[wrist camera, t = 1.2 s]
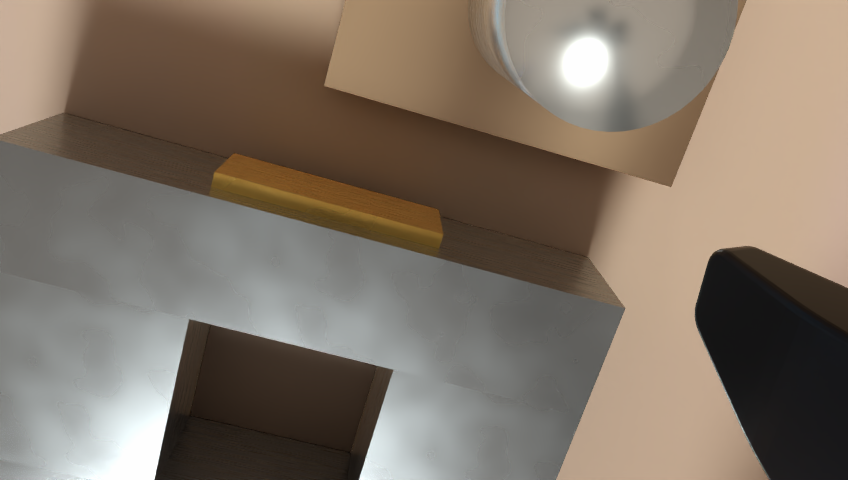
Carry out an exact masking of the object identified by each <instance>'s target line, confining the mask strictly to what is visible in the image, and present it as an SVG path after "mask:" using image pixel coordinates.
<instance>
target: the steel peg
mask: <svg viewBox="0 0 848 480" xmlns="http://www.w3.org/2000/svg"><path fill="white" fill-rule="evenodd" d="M737 9H738V0H469V2H468V20H469V26H470V31H471V34H472V38H473V40H474V43H475V45H476V47H477V49H478V51H479V52H480V54H481V56H482V57H483V58H484V60H485V61H486V62H487V63H488V64H489V65H490V66H491V67H492V68H493V69H494V70H495V71H496V72H497V73H499V74H500V75H501V76H503V77H504V78H505V79H507V80H508V81H509V82H511V83H512V84H513V85H515V86H516V87H517V88H519V89H520V90H521V91H523V92H524V93H525V94H527V95H528V96H529V97H531V98H532V99H533V100H535V101H536V102H537V103H539V104H540V105H541V106H543V107H544V108H545V109H547V110H548V111H549V112H551V113H552V114H554V115H555V116H557V117H558V118H560V119H562V120H564V121H566V122H568V123H570V124H573V125H576V126H578V127H581V128H585V129H590V130H594V131H604V132H619V131H629V130H634V129H639V128H643V127H646V126H649V125H652V124H655V123H657V122H659V121H661V120H663V119H666V118H668V117H669V116H671V115H673V114H674V113H676V112H677V111H679V110H681V109H682V108H683V107H684V106H686V105H687V104H688V103H689V102H691V101H692V100H693V99H694V98H695V97H696V96H697V95H698V94H699V93H700V92H701V91H702V90H703V89H704V88H705V87H706V85H707V84H708V83H709V82H710V80H711V79H712V78H713V76H714V75H715V73H716V72H717V70H718V68H719V67H720V65H721V63H722V61H723V59H724V57H725V55H726V53H727V51H728V49H729V46H730V43H731V40H732V37H733V34H734V29H735V24H736V19H737Z"/></svg>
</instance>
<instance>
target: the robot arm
mask: <svg viewBox="0 0 848 480" xmlns="http://www.w3.org/2000/svg"><path fill="white" fill-rule="evenodd" d="M695 321H696V325H697V328H698V331H699V334H700V336H701V338H702V340H703V343H704V345H705V347H706V349H707V352H708V354H709V356H710V358H711V361H712V363H713V365H714V367H715V370H716V372H717V374H718V376H719V378H720V381H721V383H722V385H723V387H724V390H725V392H726V394H727V396H728V399H729V401H730V403H731V405H732V408H733V410H734V412H735V414H736V417H737V419H738V421H739V423H740V426H741V428H742V430H743V432H744V434H745V436H746V438H747V440H748V442H749V444H750V446H751V448H752V450H753V452H754V454H755V455H756V457H757V459H758V461H759V463H760V465H761V467H762V468H763V470H764V472H765V473H766V475H767V477H768V479H769V480H848V288H846V287H844V286H842V285H840V284H837V283H835V282H833V281H830V280H828V279H826V278H824V277H821V276H819V275H817V274H815V273H812V272H810V271H808V270H806V269H803V268H801V267H799V266H796V265H794V264H792V263H790V262H787V261H785V260H783V259H781V258H778V257H776V256H774V255H772V254H769V253H767V252H765V251H762V250H760V249H758V248H755V247H751V246H743V247H734V248H725V249H720V250H717V251H715V252H714V253H713V254H712V256H711V257H710V259H709V261H708V264H707V268H706V271H705V275H704V278H703V282H702V285H701V289H700V292H699V296H698V299H697V303H696V307H695Z"/></svg>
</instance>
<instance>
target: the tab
mask: <svg viewBox="0 0 848 480" xmlns="http://www.w3.org/2000/svg"><path fill="white" fill-rule="evenodd" d="M468 2H469V0H345V4H344V8H343V12H342V16H341V20H340V24H339V28H338V32H337V36H336V40H335V44H334V48H333V52H332V56H331V60H330V64H329V68H328V72H327V76H326V80H325V84H324V86H326V87H330V88H333V89H337V90H340V91H343V92H347V93H350V94H354V95H357V96H361V97H364V98H367V99H371V100H374V101H378V102H381V103H385V104H388V105H391V106H395V107H398V108H402V109H405V110H409V111H412V112H416V113H419V114H422V115H426V116H429V117H433V118H436V119H440V120H443V121H446V122H450V123H453V124H457V125H460V126H464V127H467V128H470V129H474V130H477V131H481V132H484V133H488V134H491V135H494V136H498V137H501V138H505V139H508V140H512V141H515V142H518V143H522V144H525V145H529V146H532V147H536V148H539V149H543V150H546V151H549V152H553V153H556V154H560V155H563V156H567V157H570V158H573V159H577V160H580V161H584V162H587V163H591V164H594V165H597V166H601V167H604V168H608V169H611V170H615V171H618V172H621V173H625V174H628V175H632V176H635V177H639V178H642V179H645V180H649V181H652V182H656V183H659V184H663V185H666V186H669V187H671V186H672V184H673V181H674V179H675V176H676V174H677V171H678V169H679V166H680V164H681V161H682V159H683V156H684V154H685V151H686V149H687V146H688V144H689V141H690V139H691V137H692V134H693V132H694V129H695V127H696V124H697V122H698V119H699V117H700V114H701V112H702V109H703V107H704V104H705V102H706V99H707V97H708V94H709V92H710V89H711V87H712V84H713V82H714V80H715V77H716V75H717V72H718V70H719V68H718V70H717V72H716V73H715V75H714V76H713V78H712V79H711V80H710V82H709V83H708V84H707V85H706V87H705V88H704V89H703V90H702V91H701V92H700V93H699V94H698V95H697V96H696V97H695V98H694V99H693V100H692V101H691V102H689V103H688V104H687V105H686V106H684V107H683V108H682V109H681V110H679V111H677V112H676V113H674V114H673V115H671V116H669V117H668V118H666V119H663V120H661V121H659V122H657V123H655V124H652V125H649V126H646V127H643V128H639V129H634V130H629V131H619V132H604V131H594V130H590V129H585V128H581V127H578V126H576V125H573V124H570V123H568V122H566V121H564V120H562V119H560V118H558V117H557V116H555V115H554V114H552V113H551V112H549V111H548V110H547V109H545V108H544V107H543V106H541V105H540V104H539V103H537V102H536V101H535V100H533V99H532V98H531V97H529V96H528V95H527V94H525V93H524V92H523V91H521V90H520V89H519V88H517V87H516V86H515V85H513V84H512V83H511V82H509V81H508V80H507V79H505V78H504V77H503V76H501V75H500V74H499V73H497V72H496V71H495V70H494V69H493V68H492V67H491V66H490V65H489V64H488V63H487V62H486V61H485V60H484V58H483V57H482V56H481V54H480V52H479V51H478V49H477V47H476V45H475V43H474V40H473V38H472V34H471V31H470V26H469V20H468ZM745 3H746V0H738V9H737V19H736V24H735V28H736V25H737V23H738V20H739V18H740V15H741V13H742V10H743V8H744V5H745ZM734 30H735V29H734Z"/></svg>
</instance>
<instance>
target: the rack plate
mask: <svg viewBox="0 0 848 480" xmlns="http://www.w3.org/2000/svg"><path fill="white" fill-rule="evenodd" d="M624 310H625V307H624V306H623V304H622V303H621V302H620V300H619V299H618V298H617V296H616V295H615V293H614V292H613V291H612V289H611V288H610V287H609V285H608V284H607V283H606V281H605V280H604V278H603V277H602V276H601V274H600V273H599V272H598V270H597V269H596V268H595V266H594V265H593V263H592V262H591V261H590V259H589V258H588V257H585V256H581V255H578V254H574V253H570V252H567V251H563V250H560V249H556V248H552V247H549V246H545V245H541V244H538V243H534V242H531V241H527V240H523V239H520V238H516V237H512V236H509V235H505V234H501V233H498V232H494V231H491V230H487V229H483V228H480V227H476V226H472V225H469V224H465V223H462V222H458V221H454V220H451V219H447V218H443V217H440V214H439V210H438V209H435V208H431V207H427V206H424V205H420V204H417V203H413V202H409V201H406V200H402V199H398V198H395V197H391V196H388V195H384V194H380V193H377V192H373V191H370V190H366V189H362V188H359V187H355V186H351V185H348V184H344V183H341V182H337V181H333V180H330V179H326V178H323V177H319V176H315V175H312V174H308V173H304V172H301V171H297V170H294V169H290V168H286V167H283V166H279V165H275V164H272V163H268V162H265V161H261V160H257V159H254V158H250V157H247V156H243V155H239V154H236V153H234V154H233V155H232V156H231V157H230V158H226V157H222V156H218V155H215V154H211V153H207V152H204V151H200V150H196V149H193V148H189V147H186V146H182V145H178V144H175V143H171V142H167V141H164V140H160V139H157V138H153V137H149V136H146V135H142V134H138V133H135V132H131V131H127V130H124V129H120V128H117V127H113V126H109V125H106V124H102V123H98V122H95V121H91V120H88V119H84V118H80V117H77V116H73V115H69V114H66V113H61V114H58V115H55V116H53V117H50V118H47V119H44V120H41V121H38V122H35V123H32V124H29V125H26V126H24V127H21V128H18V129H15V130H12V131H9V132H6V133H3V134H0V480H556V478H557V476H558V473H559V471H560V468H561V466H562V464H563V461H564V459H565V456H566V454H567V451H568V449H569V446H570V444H571V441H572V439H573V436H574V434H575V431H576V429H577V427H578V424H579V422H580V419H581V417H582V414H583V412H584V409H585V407H586V404H587V402H588V399H589V397H590V394H591V392H592V389H593V387H594V385H595V382H596V380H597V377H598V375H599V372H600V370H601V367H602V365H603V362H604V360H605V357H606V355H607V352H608V350H609V348H610V345H611V343H612V340H613V338H614V335H615V333H616V330H617V328H618V325H619V323H620V320H621V318H622V315H623V313H624ZM210 324H211V325H215V326H219V327H223V328H227V329H231V330H235V331H239V332H244V333H248V334H252V335H256V336H260V337H264V338H268V339H272V340H276V341H280V342H284V343H288V344H292V345H296V346H300V347H304V348H308V349H312V350H316V351H320V352H324V353H328V354H332V355H336V356H340V357H344V358H348V359H352V360H356V361H360V362H364V363H368V364H372V365H376V366H377V367H376V370H375V374H374V377H373V380H372V384H371V387H370V390H369V393H368V397H367V400H366V403H365V406H364V410H363V413H362V416H361V419H360V423H359V426H358V429H357V433H356V436H355V439H354V442H353V446H352V449H351V452H350V453H348V452H344V451H340V450H335V449H331V448H327V447H323V446H318V445H314V444H310V443H305V442H301V441H297V440H293V439H288V438H284V437H280V436H275V435H271V434H267V433H262V432H258V431H254V430H250V429H245V428H241V427H237V426H232V425H228V424H224V423H220V422H215V421H211V420H207V419H202V418H198V417H194V416H190V411H191V407H192V403H193V398H194V394H195V390H196V385H197V381H198V376H199V372H200V368H201V363H202V359H203V354H204V350H205V346H206V341H207V337H208V333H209V328H210Z"/></svg>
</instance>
